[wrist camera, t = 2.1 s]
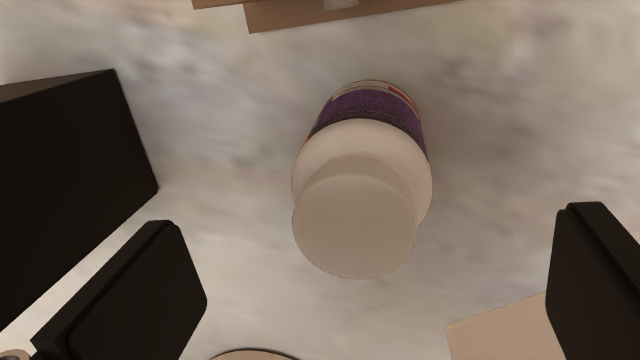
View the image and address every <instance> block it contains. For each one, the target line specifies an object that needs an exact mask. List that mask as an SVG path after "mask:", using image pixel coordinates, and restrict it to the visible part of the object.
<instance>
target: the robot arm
mask: <svg viewBox="0 0 640 360" xmlns="http://www.w3.org/2000/svg"><path fill="white" fill-rule="evenodd" d="M206 308H207V298H206V295H205V292H204V289H203V287H202V284H201V282H200V279H199V277H198V274H197V271H196V269H195V266H194V264H193V261H192V259H191V256H190V253H189V251H188V248H187V246H186V243H185V241H184V238H183V235H182V233H181V230H180V228H179V227H178V226H177V225H174V223H173V222H172V221H170V220H154V221H148V222H146V223H145V224H144V225H143V226H142V227H141V228H140V229H139V230H138V231H137V232H136V233H135V234H134V235H133V236H132V237H131V238H130V239H129V240H128V241H127V242H126V243H125V244H124V245H123V246H122V247H121V248H120V249H119V250H118V251H117V252H116V253H115V254H114V255H113V256H112V257H111V258H110V259H109V260H108V261H107V262H106V263H105V265H104V266H103V267H102V268H101V269H100V270H99V271H98V272H97V273H96V274H95V275H94V276H93V277H92V278H91V279H90V280H89V281H88V282H87V283H86V284H85V285H84V286H83V287H82V288H81V289H80V290H79V291H78V292H77V293H76V294H75V295H74V296H73V297H72V298H71V299H70V300H69V301H68V302H67V303H66V304H65V305H64V306H63V307H62V308H61V309H60V310H59V311H58V312H57V313H56V314H55V315H54V316H53V317H52V318H51V319H50V320H49V321H48V322H47V323H46V324H45V325H44V326H43V327H42V328H41V329H40V330H39V331H38V332H37V333H36V334H35V335H34V336H33V337H32V338H31V339H30V341H31V343H32V344H33V345H34V347H35V348H36V350H37V352H36V353H35V354H34V355H33V356H32V357H30V355H29V354H28V353H27V352H26V351H25V350H20V349H14V350H7V351H4V352H1V353H0V360H178V359H179V357H180V356H181V354H182V352H183V350H184V348H185V347H186V345H187V343H188V341H189V340H190V338H191V336H192V334H193V332H194V331H195V329H196V327H197V325H198V323H199V322H200V320H201V318H202V316H203V315H204V313H205V311H206ZM545 308H546V313H547V316H548V319H549V321H550V323H551V326H552V328H553V330H554V333H555V335H556V337H557V340H558V342H559V344H560V346H561V349H562V351H563V353H564V356H565V358H566V360H640V245H639V244H638V242H637V241H636V240H635V239H634V238H633V237H632V236H631V235H630V233H629V232H628V231H627V230H626V229H625V228H624V227H623V226H622V224H621V223H620V222H619V221H618V220H617V219H616V218H615V217H614V215H613V214H612V213H611V212H610V211H609V210H608V209H607V207H606V206H605V205H604V204H603V203H601V202H598V201H597V202H574V203H569V204H568V205H567V206H566V209H564V210H559V211H558V212H557V216H556V224H555V231H554V238H553V246H552V253H551V260H550V267H549V275H548V282H547V289H546V297H545ZM212 360H292V359H289V358H287V357H284V356H281V355H277V354H273V353H268V352H262V351H251V350H249V351H235V352H231V353H226V354H222V355H220V356H218V357H216V358H213V359H212Z"/></svg>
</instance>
